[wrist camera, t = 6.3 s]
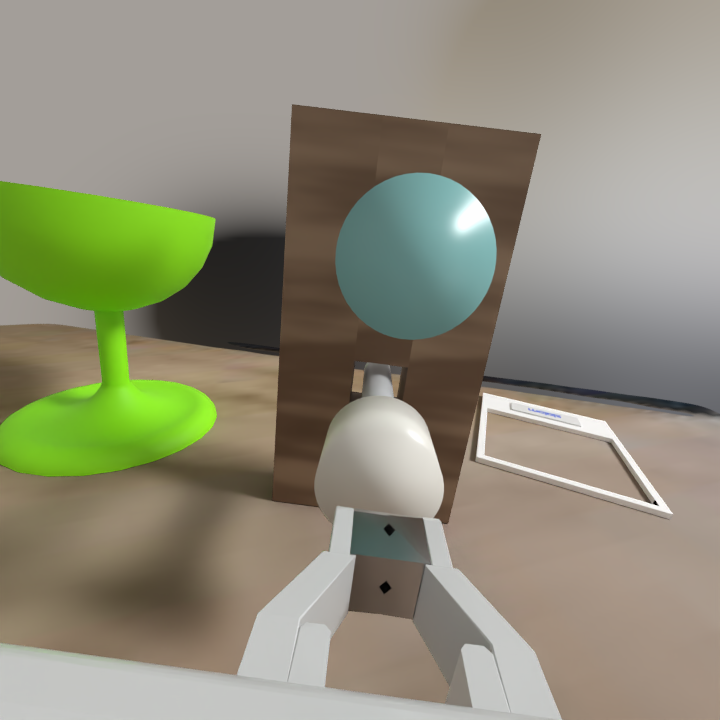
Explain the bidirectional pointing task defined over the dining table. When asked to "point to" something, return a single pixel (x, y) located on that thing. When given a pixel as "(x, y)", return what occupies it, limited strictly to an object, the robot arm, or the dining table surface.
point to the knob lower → (379, 455)
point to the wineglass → (101, 326)
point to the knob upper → (415, 256)
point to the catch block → (335, 317)
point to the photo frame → (572, 425)
